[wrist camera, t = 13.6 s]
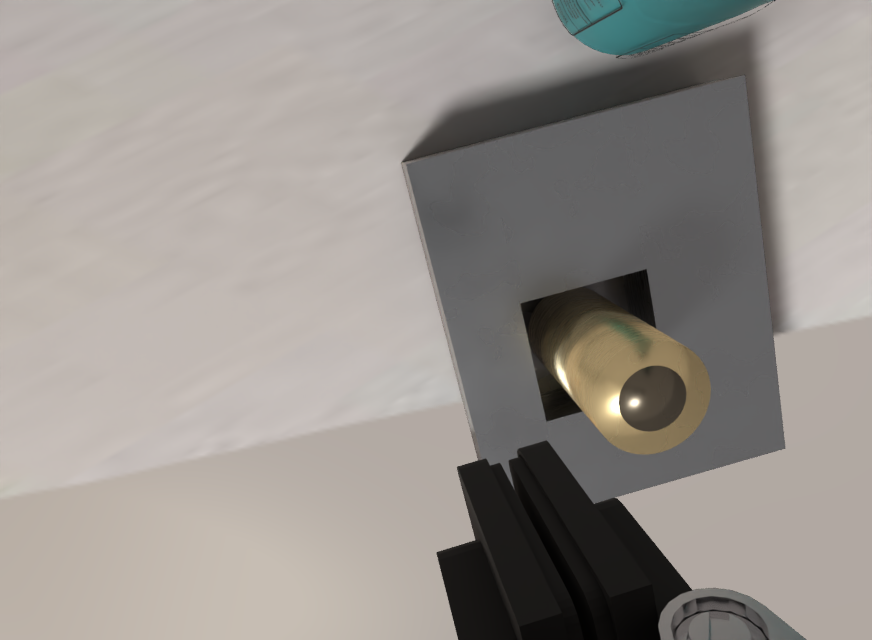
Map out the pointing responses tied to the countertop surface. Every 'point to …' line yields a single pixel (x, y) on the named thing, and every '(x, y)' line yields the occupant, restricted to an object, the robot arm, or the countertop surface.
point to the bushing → (620, 371)
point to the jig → (606, 272)
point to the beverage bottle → (643, 21)
